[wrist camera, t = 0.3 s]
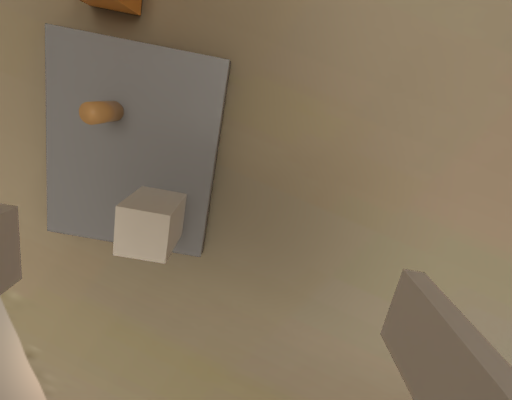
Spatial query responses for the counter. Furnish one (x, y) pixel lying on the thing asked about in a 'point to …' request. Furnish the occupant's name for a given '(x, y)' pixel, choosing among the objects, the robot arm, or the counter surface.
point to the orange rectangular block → (117, 5)
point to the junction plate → (131, 141)
